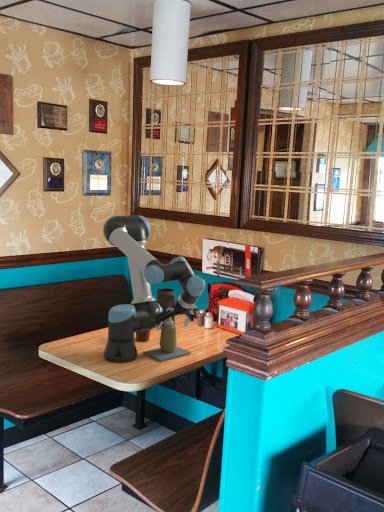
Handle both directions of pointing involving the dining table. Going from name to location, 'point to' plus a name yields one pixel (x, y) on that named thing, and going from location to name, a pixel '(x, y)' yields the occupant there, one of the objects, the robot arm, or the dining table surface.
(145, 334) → the disposable coffee cup
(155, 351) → the rubber mat
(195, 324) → the dining table surface
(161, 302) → the dark brown bag
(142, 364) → the dining table surface
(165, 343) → the squeeze bottle
